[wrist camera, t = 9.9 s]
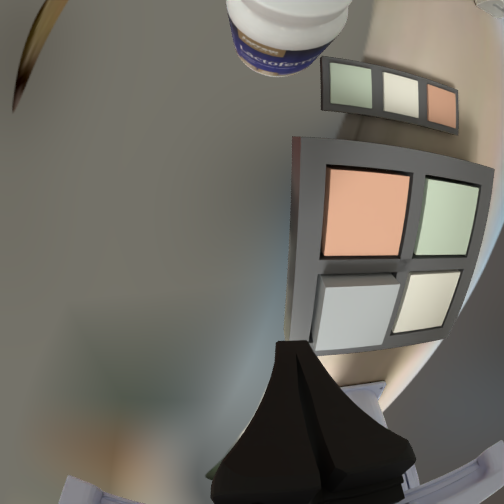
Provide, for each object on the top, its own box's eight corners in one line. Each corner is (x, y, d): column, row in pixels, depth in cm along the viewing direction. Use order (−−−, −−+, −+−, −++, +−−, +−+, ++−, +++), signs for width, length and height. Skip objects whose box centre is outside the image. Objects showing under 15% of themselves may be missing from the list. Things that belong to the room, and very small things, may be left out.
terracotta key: (380, 239, 20) (397, 255, 17) (314, 238, 20) (324, 255, 17) (389, 169, 18) (409, 176, 15) (319, 164, 18) (330, 169, 15)
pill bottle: (235, 79, 16) (217, 27, 7) (233, 11, 14) (217, -70, 5) (319, 80, 16) (380, 37, 7) (314, 13, 14) (357, -60, 4)
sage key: (446, 240, 20) (465, 254, 17) (398, 239, 20) (415, 254, 17) (456, 179, 18) (478, 188, 15) (407, 171, 18) (428, 179, 15)
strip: (453, 90, 15) (459, 90, 14) (454, 134, 17) (459, 135, 16) (320, 58, 15) (322, 55, 14) (320, 110, 17) (323, 109, 16)
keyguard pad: (432, 316, 24) (448, 337, 21) (283, 329, 24) (287, 357, 21) (467, 161, 17) (494, 168, 14) (292, 136, 18) (300, 136, 14)
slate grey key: (369, 321, 22) (381, 344, 19) (309, 325, 22) (315, 350, 19) (383, 264, 19) (400, 284, 17) (316, 265, 19) (325, 287, 17)
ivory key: (427, 307, 23) (441, 325, 20) (381, 312, 23) (393, 332, 20) (442, 257, 20) (460, 272, 18) (394, 257, 20) (411, 275, 18)
